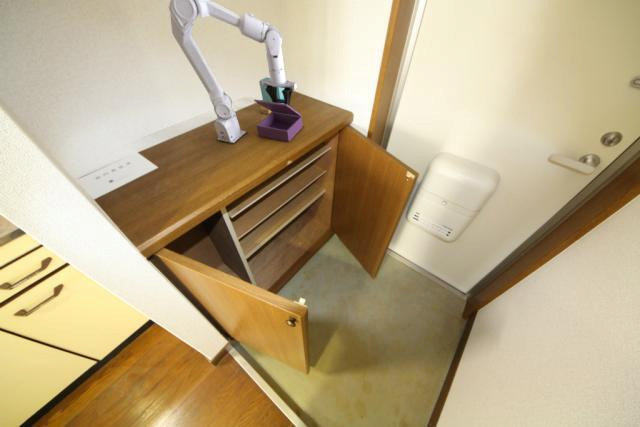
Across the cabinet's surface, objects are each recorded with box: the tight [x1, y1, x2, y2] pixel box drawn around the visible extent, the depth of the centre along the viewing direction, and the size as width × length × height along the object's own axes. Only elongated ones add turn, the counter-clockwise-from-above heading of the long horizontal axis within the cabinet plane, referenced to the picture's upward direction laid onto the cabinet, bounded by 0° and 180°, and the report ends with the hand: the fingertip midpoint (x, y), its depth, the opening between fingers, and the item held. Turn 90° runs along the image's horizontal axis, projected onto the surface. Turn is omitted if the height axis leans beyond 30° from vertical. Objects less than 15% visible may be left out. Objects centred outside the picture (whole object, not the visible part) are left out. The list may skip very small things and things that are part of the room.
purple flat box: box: [256, 112, 303, 143], centre depth 95 cm, size 13×14×5 cm
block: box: [259, 104, 272, 115], centre depth 108 cm, size 4×4×4 cm
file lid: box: [254, 99, 303, 117], centre depth 90 cm, size 14×14×4 cm
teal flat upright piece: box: [258, 76, 285, 104], centre depth 110 cm, size 12×4×12 cm, turn 59°
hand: (282, 106), depth 92 cm, fingers closed on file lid, 5 cm apart
